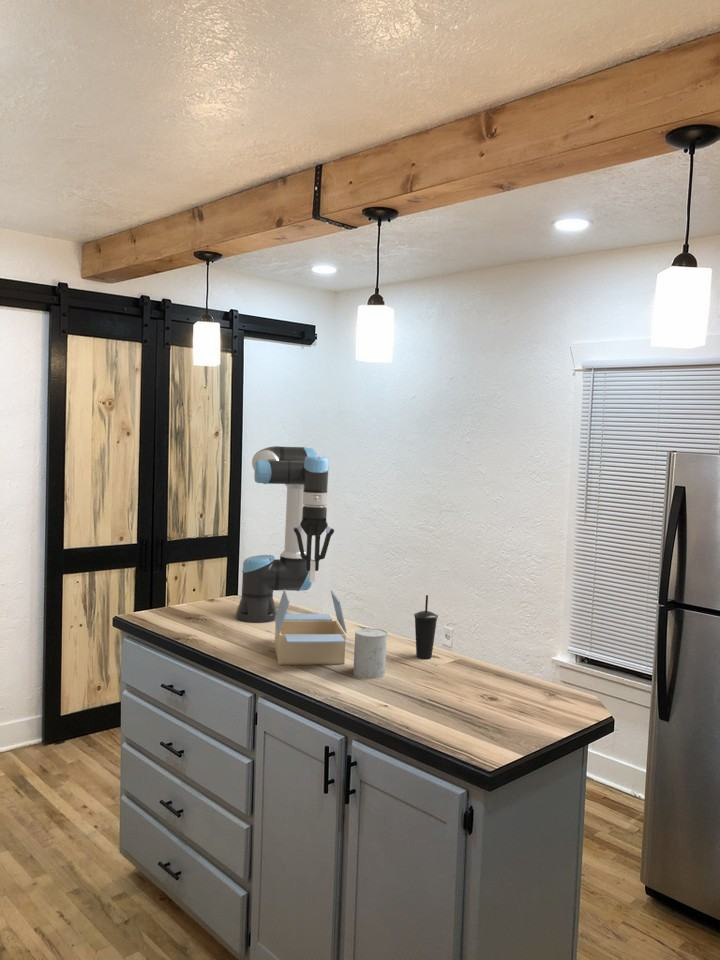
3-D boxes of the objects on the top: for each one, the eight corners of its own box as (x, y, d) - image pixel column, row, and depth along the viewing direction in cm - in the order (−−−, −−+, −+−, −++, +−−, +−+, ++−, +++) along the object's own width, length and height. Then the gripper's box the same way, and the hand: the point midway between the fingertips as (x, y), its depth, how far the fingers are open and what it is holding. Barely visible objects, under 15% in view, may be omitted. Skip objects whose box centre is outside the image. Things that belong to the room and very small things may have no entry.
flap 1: (275, 619, 246) (274, 619, 246) (285, 589, 246) (283, 589, 246) (279, 633, 229) (278, 632, 229) (289, 601, 229) (288, 601, 229)
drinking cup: (408, 657, 243) (411, 595, 242) (417, 652, 250) (420, 591, 249) (430, 662, 240) (433, 599, 239) (439, 656, 246) (442, 595, 245)
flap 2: (330, 590, 249) (331, 590, 249) (337, 619, 250) (338, 619, 250) (338, 601, 232) (339, 601, 232) (345, 633, 233) (346, 632, 233)
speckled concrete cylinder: (386, 669, 230) (388, 629, 229) (384, 679, 220) (386, 637, 219) (354, 667, 231) (356, 627, 230) (351, 677, 221) (353, 635, 220)
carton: (272, 641, 255) (274, 613, 255) (332, 641, 259) (333, 613, 258) (280, 673, 221) (282, 641, 221) (348, 672, 225) (350, 641, 224)
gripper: (295, 506, 233) (291, 583, 234) (337, 507, 235) (334, 583, 236) (292, 504, 240) (289, 578, 241) (333, 505, 242) (330, 579, 243)
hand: (311, 581), depth 238 cm, fingers closed
